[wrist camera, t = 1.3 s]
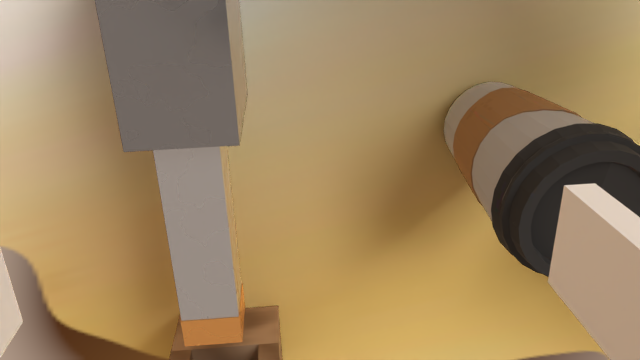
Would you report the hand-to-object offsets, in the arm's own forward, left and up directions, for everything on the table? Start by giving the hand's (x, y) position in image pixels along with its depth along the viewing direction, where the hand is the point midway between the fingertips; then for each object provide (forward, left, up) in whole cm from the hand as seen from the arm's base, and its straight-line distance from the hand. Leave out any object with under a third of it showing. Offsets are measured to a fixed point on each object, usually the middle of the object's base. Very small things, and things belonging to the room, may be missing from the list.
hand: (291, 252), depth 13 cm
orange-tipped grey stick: (+5, +5, -21) cm, 22 cm away
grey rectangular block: (+5, -3, -26) cm, 27 cm away
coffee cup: (-15, +6, -27) cm, 31 cm away
